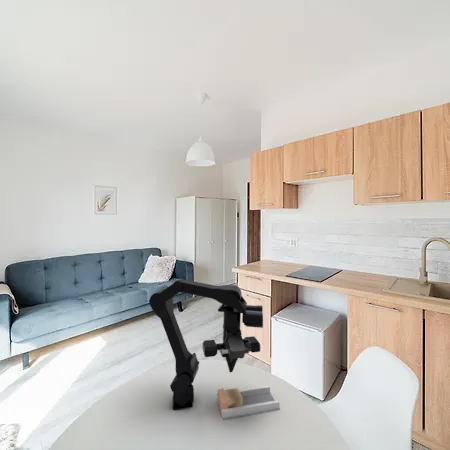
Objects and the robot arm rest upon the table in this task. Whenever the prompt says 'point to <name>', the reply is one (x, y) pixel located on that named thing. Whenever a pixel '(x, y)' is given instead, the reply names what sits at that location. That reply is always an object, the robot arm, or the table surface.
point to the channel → (248, 403)
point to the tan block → (234, 398)
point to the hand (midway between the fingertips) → (230, 371)
